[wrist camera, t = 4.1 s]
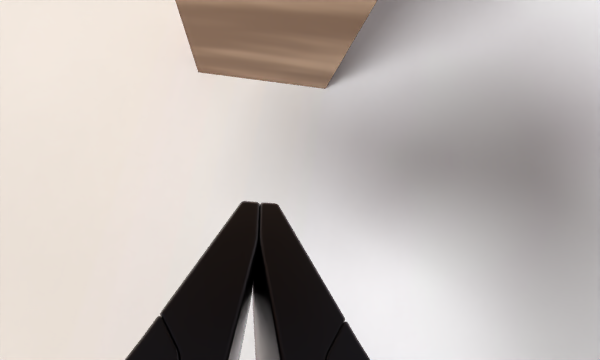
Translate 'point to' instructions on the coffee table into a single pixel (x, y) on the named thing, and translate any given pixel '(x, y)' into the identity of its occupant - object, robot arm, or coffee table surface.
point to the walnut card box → (273, 37)
